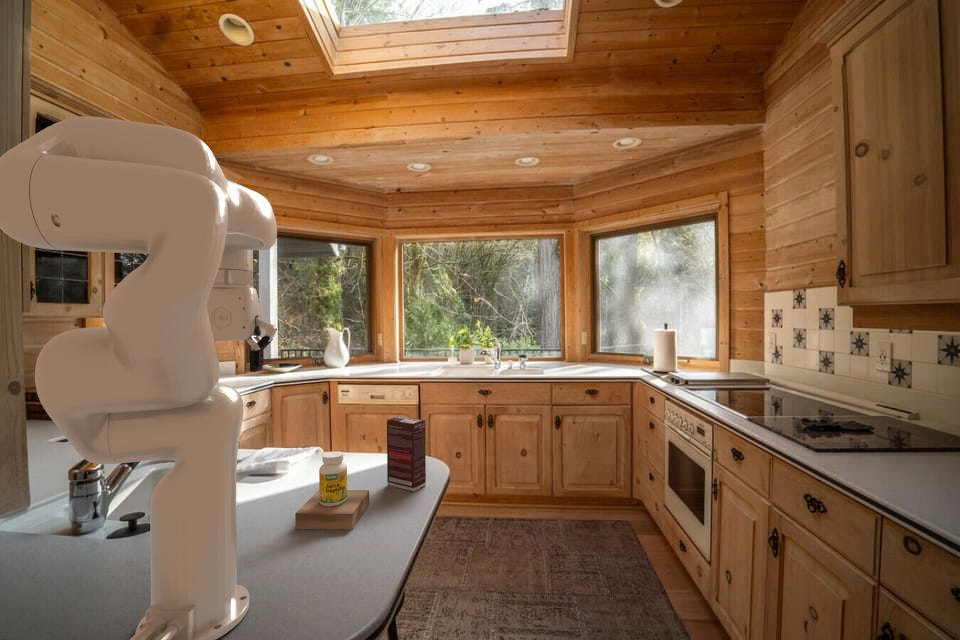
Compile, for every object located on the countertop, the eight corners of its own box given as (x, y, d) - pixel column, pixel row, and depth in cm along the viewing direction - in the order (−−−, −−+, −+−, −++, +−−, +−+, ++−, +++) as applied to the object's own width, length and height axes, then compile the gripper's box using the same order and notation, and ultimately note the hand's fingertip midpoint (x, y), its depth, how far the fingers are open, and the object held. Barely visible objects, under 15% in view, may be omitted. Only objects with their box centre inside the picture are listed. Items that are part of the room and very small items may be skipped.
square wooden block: (352, 529, 81) (352, 513, 81) (295, 529, 81) (295, 513, 81) (369, 504, 92) (369, 490, 92) (318, 503, 92) (318, 489, 92)
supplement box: (426, 485, 102) (426, 419, 102) (414, 492, 98) (413, 423, 98) (399, 478, 106) (399, 415, 106) (386, 485, 102) (385, 419, 102)
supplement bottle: (343, 493, 90) (342, 448, 90) (350, 502, 86) (350, 455, 85) (316, 499, 87) (316, 453, 87) (322, 509, 83) (322, 460, 82)
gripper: (171, 279, 77) (171, 373, 77) (265, 279, 77) (265, 373, 77) (199, 282, 85) (200, 368, 85) (285, 282, 84) (285, 368, 84)
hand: (231, 370), depth 81 cm, fingers open, 9 cm apart
